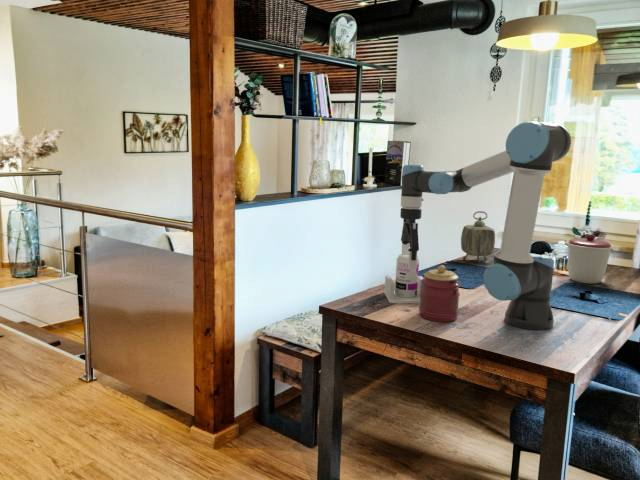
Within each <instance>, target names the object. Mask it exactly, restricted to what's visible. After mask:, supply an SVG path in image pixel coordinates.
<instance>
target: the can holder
mask: <svg viewBox="0 0 640 480" xmlns="http://www.w3.org/2000/svg"><path fill="white" fill-rule="evenodd" d="M424 278H425V277H423V276H422V275H418V287H417V295H416V296H415V297H413V298H403V297H399V296H397V295H396V294H395V281H394V280H393V278H392V277H391V275H389V274H387V275H386V274H385V278H384V279H385V281H384V291H383V293H384V295H385V297H386V299H387V300H388V303H389V304H416V305H420V296H421V292H420V290H421V289H422V283H421V280H422V279H424Z"/></svg>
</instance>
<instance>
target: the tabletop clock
mask: <svg viewBox="0 0 640 480" xmlns="http://www.w3.org/2000/svg"><path fill="white" fill-rule="evenodd" d="M481 213H482V214H485V217H484V218H483V217H481V216H479V217H476V216H475V215H476V214H481ZM472 217H473V219H475V220H476V221H475V222H474V224H466V225H465V226H463V228H462V231H461V236H460V248H461V251H462V252H463V253H465V254H466V255H465V256H463V257H462V261H463V260H464V261H465V260H467V258H468V256H471V257H472V256H473V257H474V256H475V257H477V259H476V263H478V264H479V263H480V262H481V261H480V257H483V261H487V260H488V258H487V256H491V255H492V254H493V252H494V250H495V244H496V232H495V229H494V228H491V226H487V225H486V223H485V222H484V220H485V219H487V218H488V214H487V212H485V211H484V210H483V211H482V210H481V211H476V212H474V213H473V215H472Z"/></svg>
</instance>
